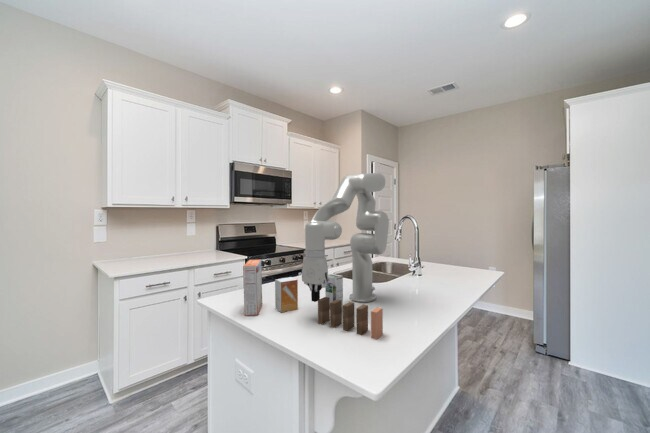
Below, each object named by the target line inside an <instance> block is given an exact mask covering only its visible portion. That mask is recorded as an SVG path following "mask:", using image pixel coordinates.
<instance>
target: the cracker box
mask: <svg viewBox="0 0 650 433" xmlns="http://www.w3.org/2000/svg"><path fill="white" fill-rule="evenodd" d="M242 271H243V272H242V275H243V302H244V303H243V306H244V308H243V310H244V316H245V317H246V316H247V317H248V316H258V315H259V314H260V311H261V308H262V306H263V285H262V284H263V283H262V282H263V280H262V279H263V278H262V276H263V275H262V259H249V260H247V261H246V262H245V264H244V265H243V266H242Z"/></svg>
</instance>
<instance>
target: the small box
mask: <svg viewBox="0 0 650 433" xmlns="http://www.w3.org/2000/svg"><path fill="white" fill-rule="evenodd" d="M298 281H299V280H298V279H296V278H295V277H292V276H289V277H281V278H278V279H276V278H275V279H274V284H275V285H274V288H275V289H274V291H275V292H274V295H275V296H274V297H275V298H274V299H275V301H274V304H275V306H274V307H275V309H276V310H277V311H278V312H280V313H285V312H289V311H294V310H299V309H298V308H299V307H298V306H299V305H298V304H299V302H298V301H299V299H298V297H299V294H298V289H299V288H298V285H299V284H298V283H299V282H298Z"/></svg>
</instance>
